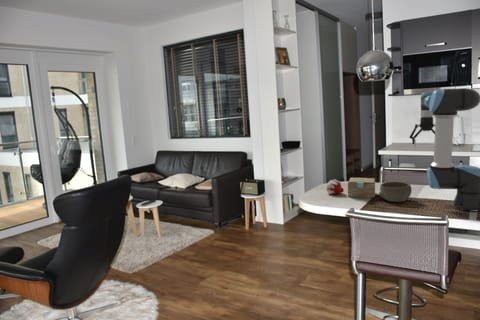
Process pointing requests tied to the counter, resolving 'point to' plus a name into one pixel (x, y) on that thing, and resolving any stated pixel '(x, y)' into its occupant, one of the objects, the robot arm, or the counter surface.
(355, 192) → the carton
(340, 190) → the red and white lump
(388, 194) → the bowl
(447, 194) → the counter surface
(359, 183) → the flap
